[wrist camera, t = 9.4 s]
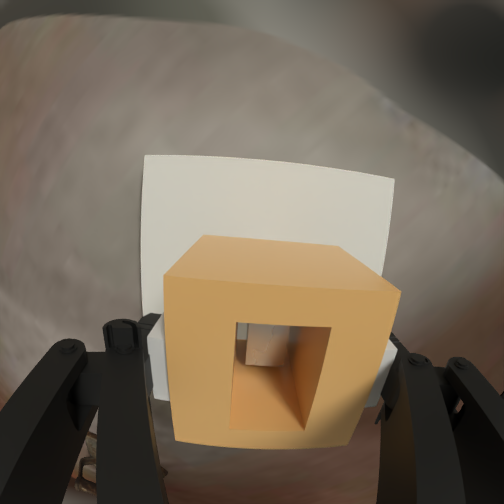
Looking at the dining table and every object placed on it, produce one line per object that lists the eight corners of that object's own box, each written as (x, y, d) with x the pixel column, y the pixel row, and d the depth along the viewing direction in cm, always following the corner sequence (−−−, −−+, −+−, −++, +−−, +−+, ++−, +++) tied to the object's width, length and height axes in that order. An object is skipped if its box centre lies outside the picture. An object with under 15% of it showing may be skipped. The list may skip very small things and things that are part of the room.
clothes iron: (81, 424, 26) (66, 482, 16) (167, 439, 29) (172, 500, 19) (88, 456, 26) (79, 509, 17) (166, 469, 30) (171, 524, 20)
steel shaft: (273, 308, 20) (283, 366, 13) (247, 306, 20) (245, 364, 13) (279, 257, 19) (294, 296, 12) (251, 255, 19) (251, 294, 12)
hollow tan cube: (203, 234, 14) (163, 275, 8) (338, 245, 15) (401, 291, 8) (200, 352, 16) (175, 440, 9) (317, 359, 16) (347, 445, 9)
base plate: (349, 368, 22) (354, 378, 21) (153, 356, 22) (147, 365, 21) (385, 179, 19) (394, 178, 18) (152, 157, 19) (144, 155, 17)
